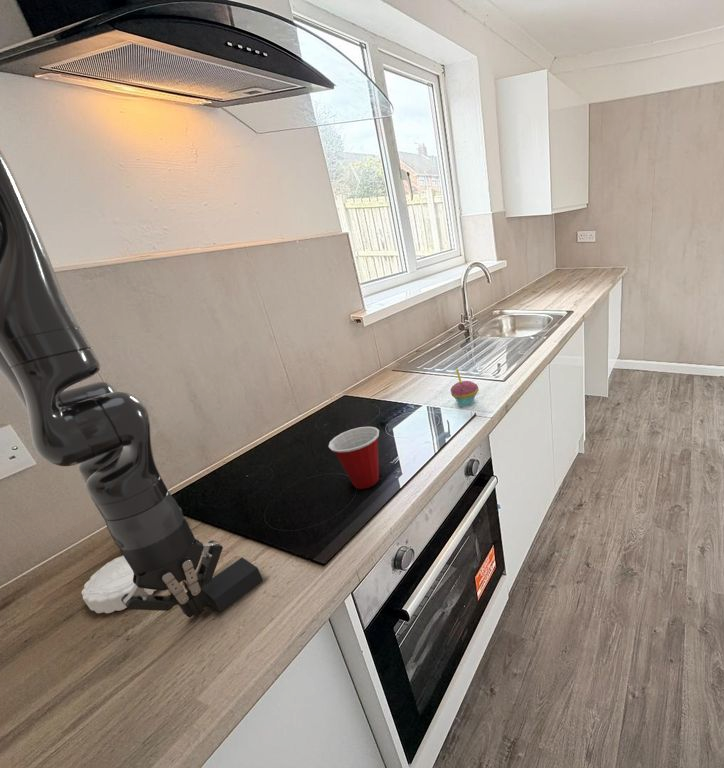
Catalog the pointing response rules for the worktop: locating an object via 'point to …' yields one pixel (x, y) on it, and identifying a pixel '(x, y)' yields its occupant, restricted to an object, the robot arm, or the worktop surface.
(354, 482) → the plastic cup
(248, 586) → the eraser
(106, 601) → the mooncake
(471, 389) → the cupcake
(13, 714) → the worktop surface
